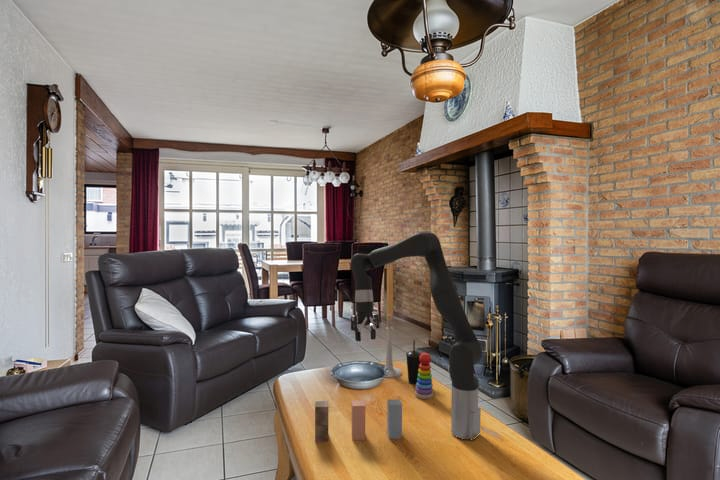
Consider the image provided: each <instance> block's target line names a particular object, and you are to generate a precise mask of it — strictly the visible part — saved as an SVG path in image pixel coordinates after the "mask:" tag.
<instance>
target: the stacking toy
mask: <svg viewBox="0 0 720 480" xmlns="http://www.w3.org/2000/svg"><path fill="white" fill-rule="evenodd" d="M421 353H422V352H421ZM419 360H420V362H421V364H420V365H419V370H418V372H419V373H418V378H417V384H415V385H416V386H415V392H414V396H415V397H416V398H417V399H422V400H430V399H432V398H434V392H433V391H434V388H433V379H432V369H431V368H432V365H431V364H430V363H431V361H432V356H431V355H430V354H429V353H427V352H423V353H422V354H421V355H420V357H419Z"/></svg>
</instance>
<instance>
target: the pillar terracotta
mask: <svg viewBox="0 0 720 480" xmlns="http://www.w3.org/2000/svg"><path fill="white" fill-rule="evenodd" d="M351 440H352V441H366V401H365V400H364V399H359V400H351Z"/></svg>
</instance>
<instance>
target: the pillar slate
mask: <svg viewBox="0 0 720 480" xmlns="http://www.w3.org/2000/svg"><path fill="white" fill-rule="evenodd" d="M386 402H387V403H386V404H387V405H386V406H387V407H386V409H387V411H386V416H387V417H386V418H387V419H386V422H387V423H386V428H387V429H386V433H387V437H388V440H402V437H403V403H402V401H401V399H400V398H399V399H398V398H396V399H395V398H393V399H391V398H390V399H389V398H388V399H387V401H386Z"/></svg>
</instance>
